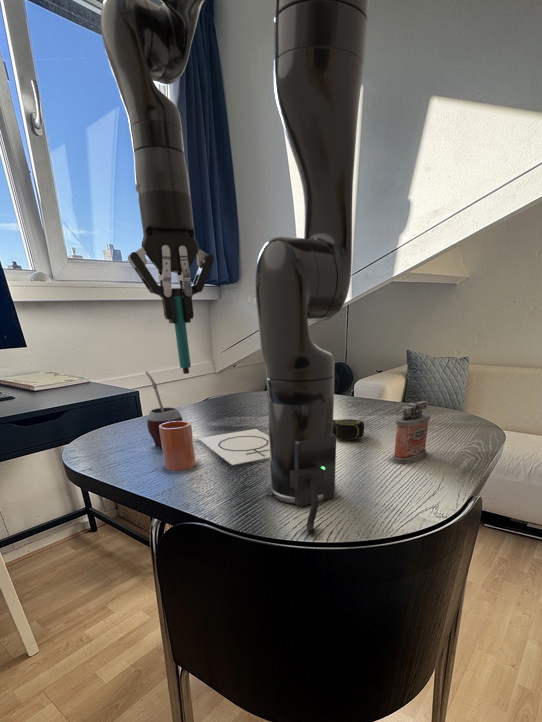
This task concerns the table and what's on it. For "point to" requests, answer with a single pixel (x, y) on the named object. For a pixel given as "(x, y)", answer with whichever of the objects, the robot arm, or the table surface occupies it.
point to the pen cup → (177, 445)
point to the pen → (181, 331)
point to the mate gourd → (160, 417)
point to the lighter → (411, 433)
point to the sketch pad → (240, 446)
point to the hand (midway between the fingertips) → (180, 322)
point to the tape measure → (348, 429)
